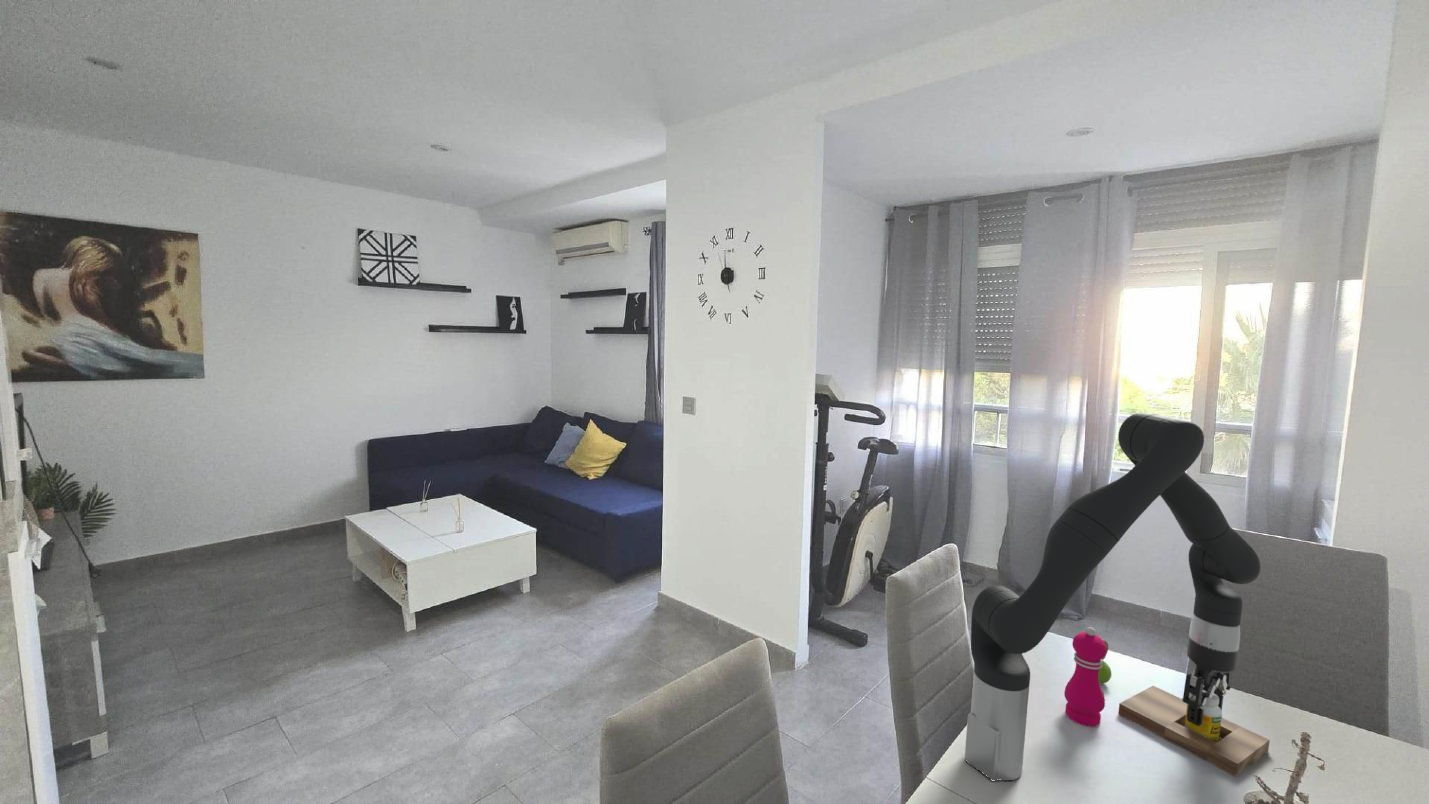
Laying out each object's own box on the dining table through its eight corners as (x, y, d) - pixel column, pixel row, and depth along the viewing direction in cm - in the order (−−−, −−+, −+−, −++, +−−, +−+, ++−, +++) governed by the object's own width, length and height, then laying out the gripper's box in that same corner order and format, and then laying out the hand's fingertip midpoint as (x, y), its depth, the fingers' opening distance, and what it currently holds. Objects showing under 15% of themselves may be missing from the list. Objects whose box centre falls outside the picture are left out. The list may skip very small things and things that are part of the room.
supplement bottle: (1189, 726, 121) (1194, 683, 120) (1222, 741, 117) (1228, 696, 116) (1179, 735, 118) (1184, 691, 117) (1212, 751, 114) (1218, 705, 113)
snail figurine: (1074, 679, 137) (1079, 630, 136) (1092, 673, 140) (1096, 625, 139) (1098, 692, 133) (1103, 641, 131) (1115, 685, 135) (1120, 636, 134)
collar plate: (1236, 776, 107) (1238, 764, 107) (1118, 714, 125) (1119, 703, 124) (1268, 751, 114) (1269, 739, 114) (1151, 696, 131) (1153, 685, 131)
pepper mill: (1091, 708, 127) (1099, 620, 124) (1110, 730, 119) (1119, 637, 117) (1056, 705, 127) (1064, 618, 125) (1073, 727, 120) (1081, 635, 118)
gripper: (1220, 658, 109) (1210, 739, 110) (1253, 640, 115) (1243, 717, 117) (1173, 639, 115) (1164, 716, 117) (1207, 624, 122) (1198, 696, 124)
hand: (1204, 716), depth 117 cm, fingers open, 8 cm apart
